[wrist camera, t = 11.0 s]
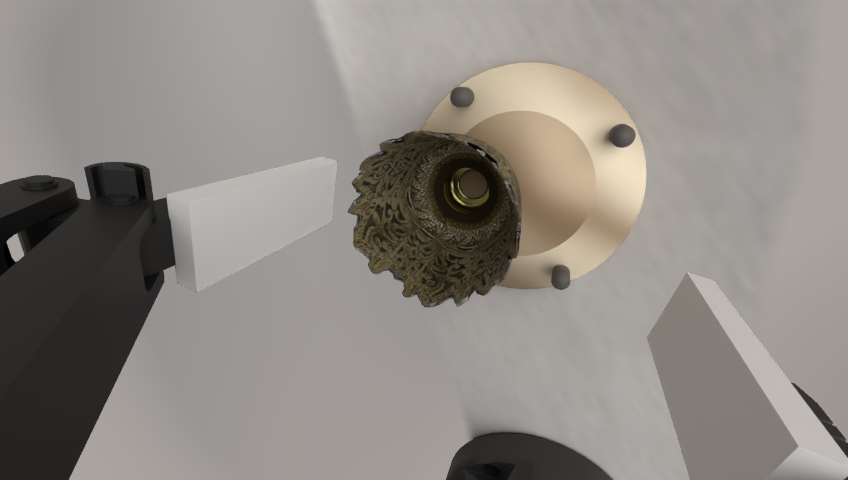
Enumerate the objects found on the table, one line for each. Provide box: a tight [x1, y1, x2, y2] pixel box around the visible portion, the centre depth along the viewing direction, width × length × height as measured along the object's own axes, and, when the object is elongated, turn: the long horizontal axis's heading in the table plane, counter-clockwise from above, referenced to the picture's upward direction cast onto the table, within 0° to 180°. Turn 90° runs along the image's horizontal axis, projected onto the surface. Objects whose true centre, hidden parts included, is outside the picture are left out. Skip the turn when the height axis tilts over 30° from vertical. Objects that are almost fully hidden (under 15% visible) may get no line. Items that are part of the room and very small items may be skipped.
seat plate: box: [422, 63, 646, 290], centre depth 21 cm, size 13×13×3 cm
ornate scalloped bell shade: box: [348, 131, 522, 307], centre depth 18 cm, size 8×7×8 cm
